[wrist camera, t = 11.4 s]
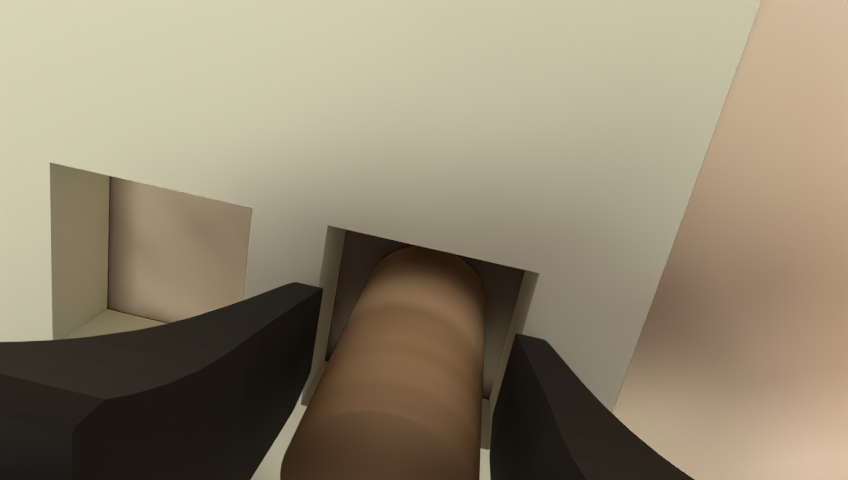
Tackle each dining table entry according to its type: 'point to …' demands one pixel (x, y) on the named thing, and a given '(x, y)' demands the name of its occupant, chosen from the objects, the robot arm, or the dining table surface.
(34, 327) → the pin board
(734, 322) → the dining table surface
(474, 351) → the pin
